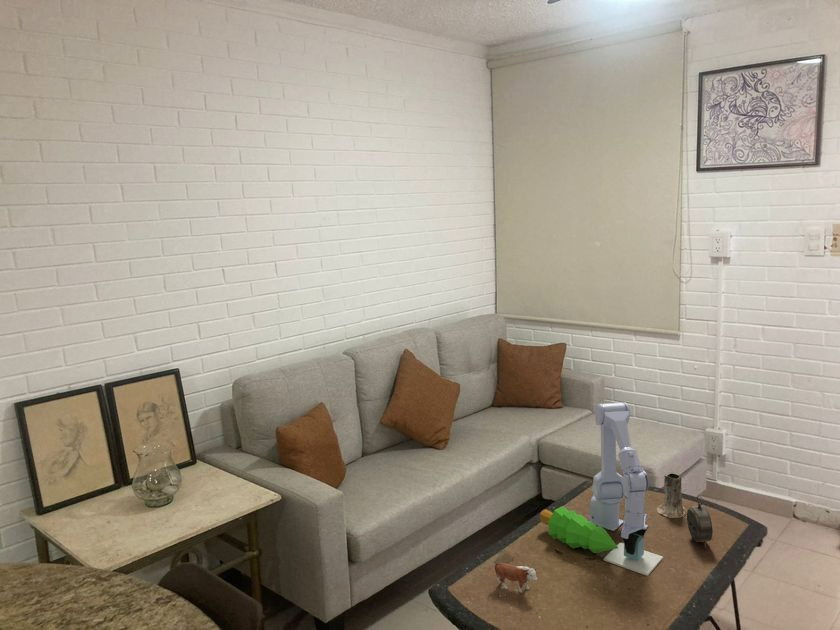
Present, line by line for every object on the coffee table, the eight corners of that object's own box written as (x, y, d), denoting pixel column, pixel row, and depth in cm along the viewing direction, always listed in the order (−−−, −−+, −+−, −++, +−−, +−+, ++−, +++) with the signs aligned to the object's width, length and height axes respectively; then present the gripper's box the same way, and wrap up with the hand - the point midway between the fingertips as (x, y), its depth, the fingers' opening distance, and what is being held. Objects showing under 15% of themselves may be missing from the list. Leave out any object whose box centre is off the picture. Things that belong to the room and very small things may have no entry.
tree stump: (658, 517, 232) (659, 481, 230) (655, 504, 242) (657, 469, 239) (688, 519, 230) (690, 483, 227) (685, 506, 239) (686, 471, 237)
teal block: (623, 555, 207) (624, 538, 206) (629, 549, 210) (630, 532, 209) (637, 560, 204) (638, 542, 203) (643, 554, 207) (644, 536, 206)
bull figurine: (535, 600, 189) (535, 573, 188) (492, 586, 196) (492, 561, 195) (541, 591, 193) (541, 566, 191) (499, 579, 200) (498, 554, 198)
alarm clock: (712, 551, 210) (715, 503, 207) (695, 551, 210) (697, 503, 207) (699, 533, 221) (701, 487, 218) (683, 533, 221) (684, 487, 218)
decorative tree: (549, 493, 227) (624, 522, 203) (558, 518, 231) (633, 549, 208) (528, 515, 221) (602, 548, 198) (538, 540, 226) (612, 575, 202)
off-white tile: (603, 560, 207) (603, 558, 207) (620, 544, 216) (620, 542, 216) (647, 576, 198) (647, 574, 198) (663, 558, 207) (663, 556, 207)
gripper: (637, 522, 196) (636, 564, 199) (656, 504, 207) (655, 544, 209) (614, 515, 201) (614, 556, 203) (634, 497, 211) (633, 537, 214)
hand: (633, 549), depth 207 cm, fingers closed on teal block, 4 cm apart
